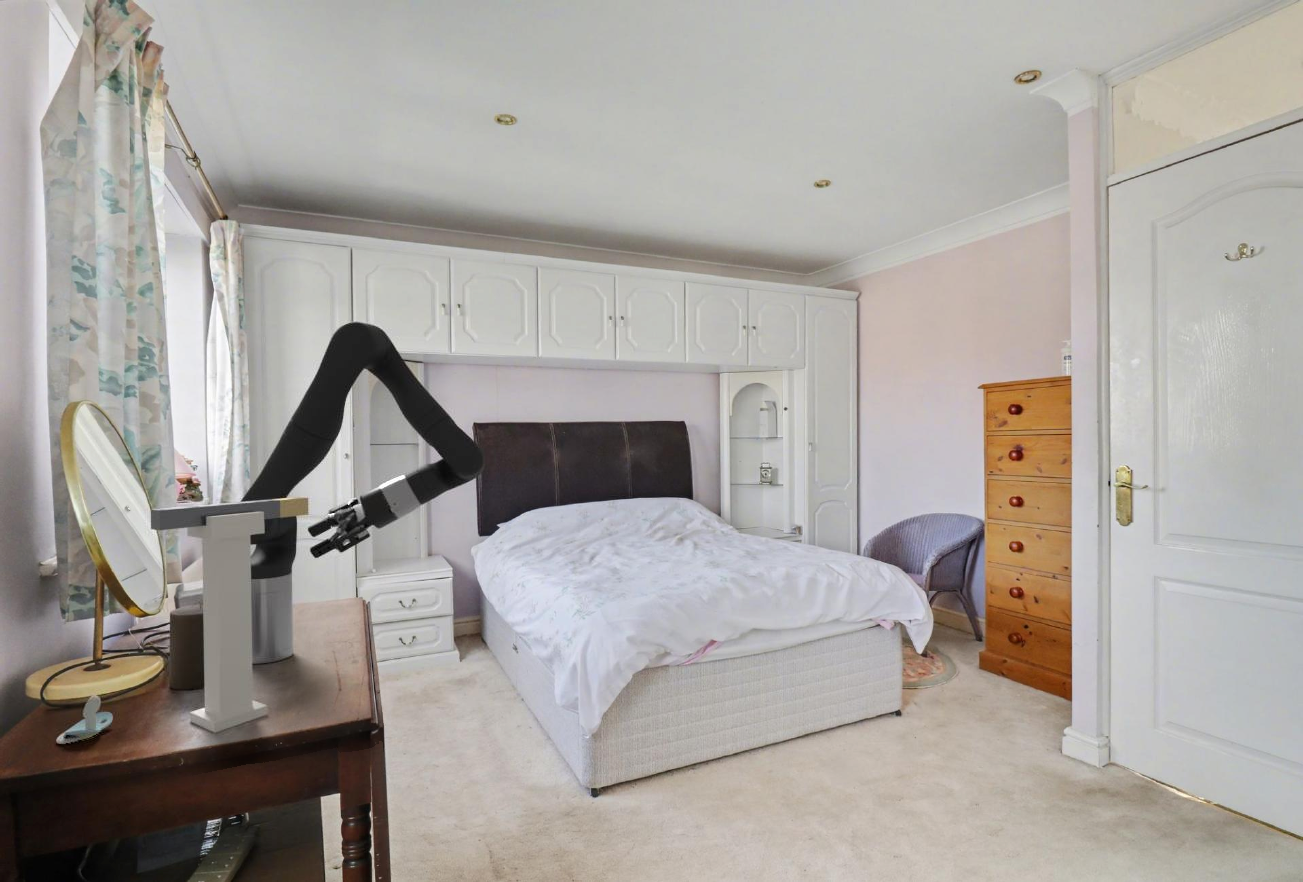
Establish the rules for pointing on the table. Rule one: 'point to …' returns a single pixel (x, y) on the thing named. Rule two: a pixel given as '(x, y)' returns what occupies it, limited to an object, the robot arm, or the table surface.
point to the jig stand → (227, 620)
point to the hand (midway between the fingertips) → (311, 543)
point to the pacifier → (88, 722)
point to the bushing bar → (225, 512)
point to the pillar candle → (187, 648)
